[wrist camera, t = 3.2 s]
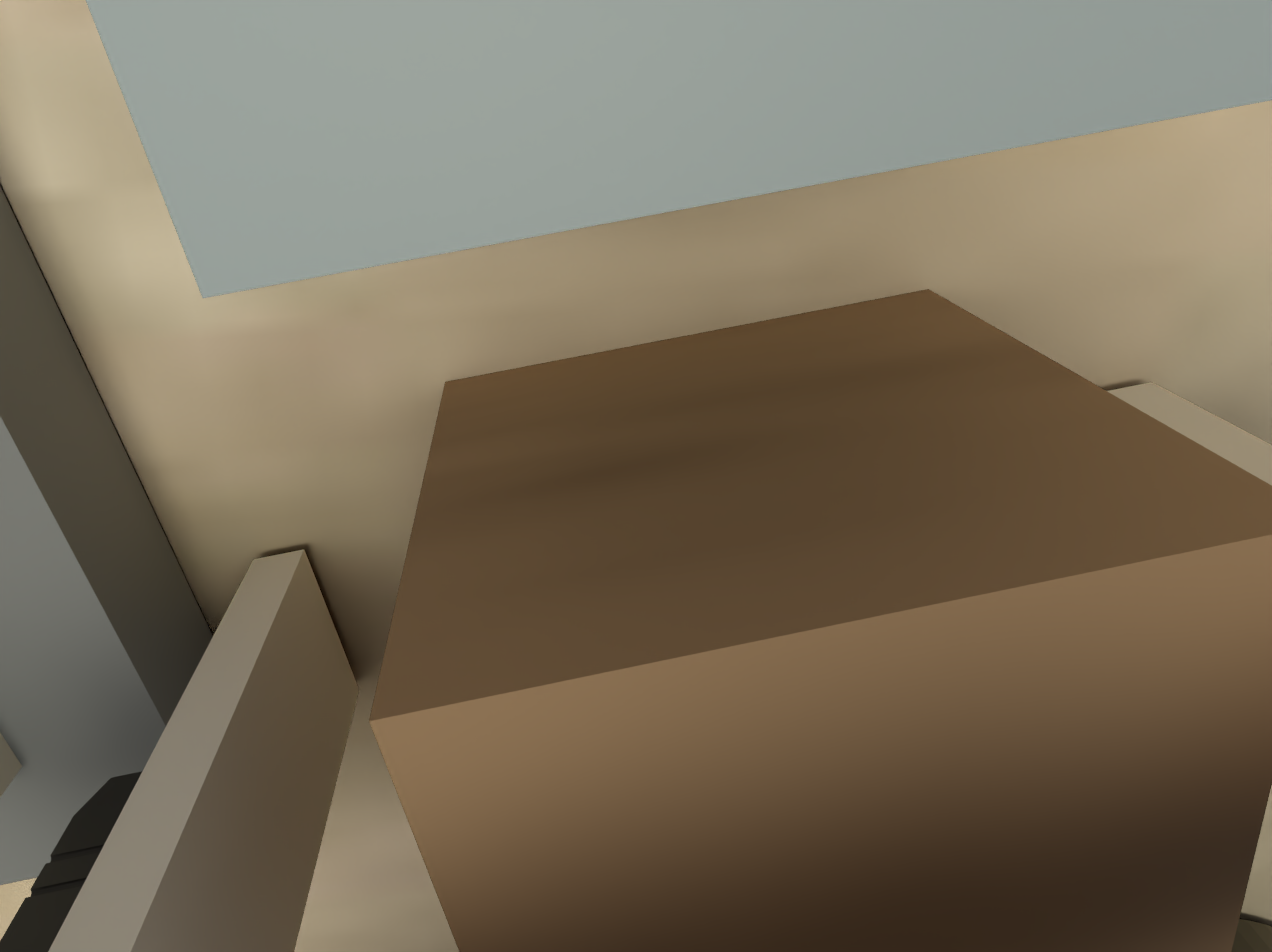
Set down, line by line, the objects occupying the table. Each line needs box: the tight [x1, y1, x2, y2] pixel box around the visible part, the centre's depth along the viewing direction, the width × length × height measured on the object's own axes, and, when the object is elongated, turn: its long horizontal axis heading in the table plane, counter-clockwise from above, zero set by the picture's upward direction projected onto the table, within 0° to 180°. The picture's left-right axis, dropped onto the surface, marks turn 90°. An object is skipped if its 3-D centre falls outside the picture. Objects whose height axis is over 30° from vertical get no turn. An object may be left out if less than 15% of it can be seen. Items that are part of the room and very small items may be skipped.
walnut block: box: [369, 289, 1272, 952], centre depth 11 cm, size 7×7×7 cm
